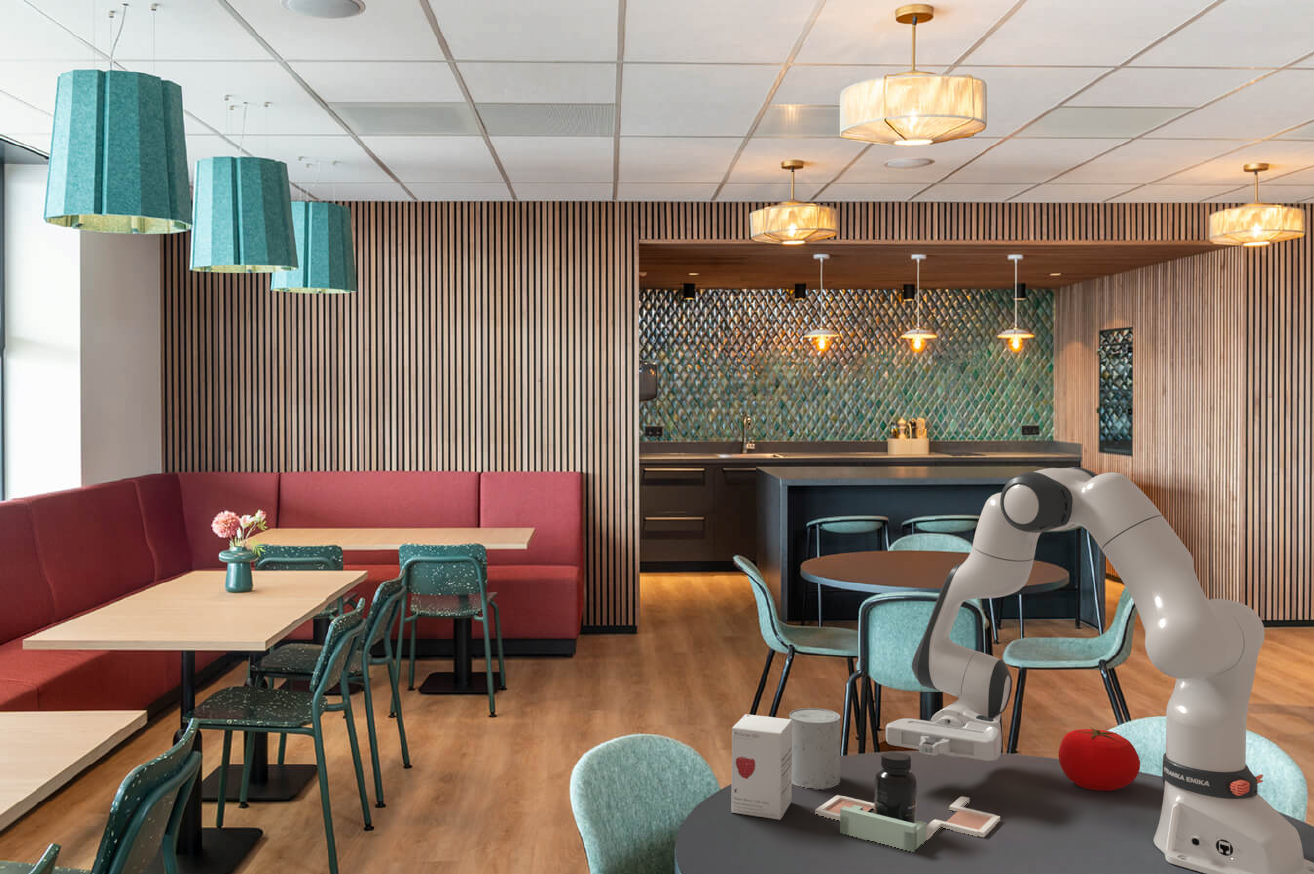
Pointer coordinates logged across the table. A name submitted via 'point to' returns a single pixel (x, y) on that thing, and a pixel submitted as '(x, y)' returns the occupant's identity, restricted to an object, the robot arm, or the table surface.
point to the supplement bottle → (896, 788)
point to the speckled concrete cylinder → (815, 748)
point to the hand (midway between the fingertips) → (926, 749)
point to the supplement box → (761, 766)
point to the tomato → (1098, 759)
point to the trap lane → (902, 822)
